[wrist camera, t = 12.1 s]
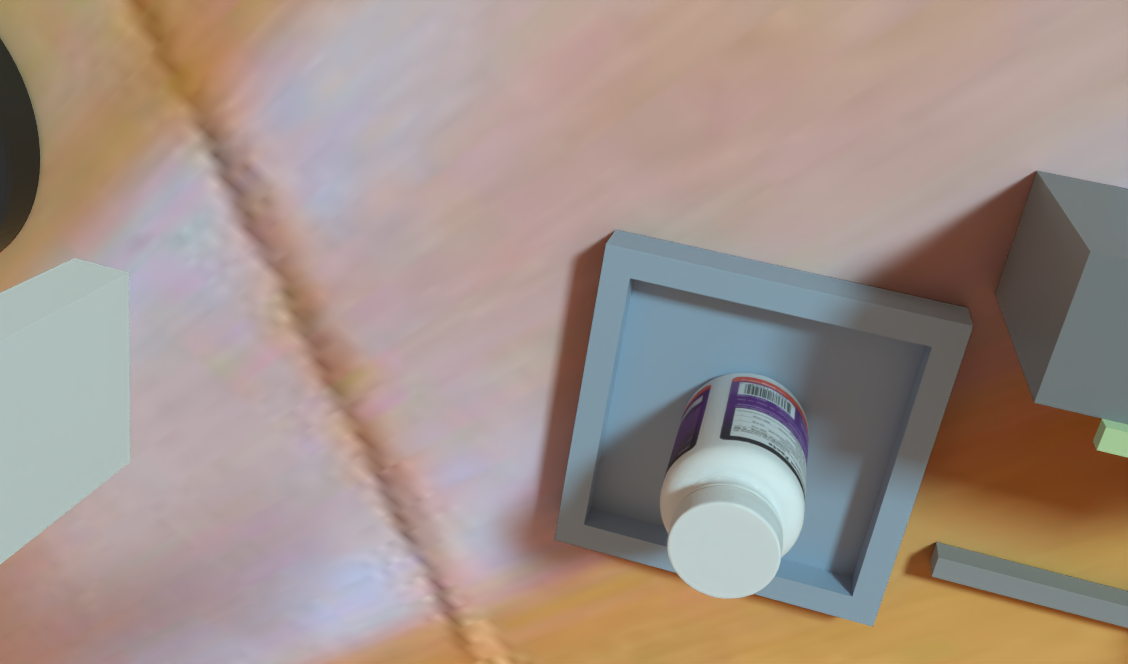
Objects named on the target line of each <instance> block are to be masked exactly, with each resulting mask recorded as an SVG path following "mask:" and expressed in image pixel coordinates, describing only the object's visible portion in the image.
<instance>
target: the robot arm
mask: <svg viewBox="0 0 1128 664" xmlns="http://www.w3.org/2000/svg"><path fill="white" fill-rule="evenodd" d="M39 169H40V148H39V137H38V131H37V125H36V120H35V115H34V111H33V108H32V104H31V101H30V98H29V95H28V92H27V89H26V87H25V84H24V82H23V79H22V77H21V75H20V73H19V70H18V68H17V66H16V64H15V62H14V61H13V59H12V57H11V55H10V53H9V51H8V50H7V48H6V47H5V45H4V43H3V42H2V40H1V39H0V251H1V250H2V249H3V248H5V247H6V246H7V245H8V244H9V243H10V242H11V241H12V240H13V239H14V238H15V236H16V235H17V234H18V232H19V231H20V230H21V228H22V226H23V225H24V223H25V221H26V219H27V217H28V215H29V213H30V210H31V208H32V205H33V202H34V199H35V195H36V191H37V186H38V179H39ZM129 462H130V336H129V272H126V271H122V270H118V269H114V268H110V267H107V266H103V265H99V264H95V263H91V262H87V261H83V260H80V259H76V258H73V259H71V260H69V261H67V262H65V263H63V264H61V265H58V266H56V267H54V268H52V269H50V270H48V271H46V272H44V273H41V274H39V275H37V276H35V277H33V278H31V279H29V280H27V281H24V282H22V283H20V284H18V285H16V286H14V287H12V288H10V289H7V290H5V291H3V292H1V293H0V564H1V563H3V562H4V561H5V560H7V559H8V558H9V557H10V556H12V555H13V554H14V553H15V552H17V551H18V550H19V549H20V548H22V547H23V546H24V545H26V544H27V543H28V542H29V541H31V540H32V539H33V538H34V537H36V536H37V535H38V534H39V533H41V532H42V531H43V530H45V529H46V528H47V527H48V526H50V525H51V524H52V523H53V522H55V521H56V520H57V519H58V518H60V517H61V516H62V515H63V514H65V513H66V512H67V511H69V510H70V509H71V508H72V507H74V506H75V505H76V504H77V503H79V502H80V501H81V500H82V499H84V498H85V497H86V496H88V495H89V494H90V493H91V492H93V491H94V490H95V489H96V488H98V487H99V486H100V485H101V484H103V483H104V482H105V481H107V480H108V479H109V478H110V477H112V476H113V475H114V474H115V473H117V472H118V471H119V470H120V469H122V468H123V467H124V466H126V465H127V464H128V463H129Z"/></svg>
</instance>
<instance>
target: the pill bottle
mask: <svg viewBox="0 0 1128 664" xmlns="http://www.w3.org/2000/svg"><path fill="white" fill-rule="evenodd" d="M808 444H809V431H808V422H807V419H806V415H805V413H804V410H803V408H802V406H801V405H800V403H799V401H798V400H797V399H796V397H795V396H794V395H793V394H792V393H791V392H790V391H789V390H788V389H787V388H785V387H784V386H783V385H781V384H780V383H778V382H776V381H775V380H773V379H771V378H768V377H766V376H762V375H759V374H753V373H732V374H726V375H723V376H720V377H717V378H715V379H713V380H711V381H709V382H708V383H706V384H705V385H703V386H702V387H701V388H700V389H699V390H698V391H697V392H696V393H695V394H694V395H693V396H692V398H691V399H690V400H689V402H688V404H687V406H686V408H685V411H684V414H683V416H682V419H681V422H680V426H679V429H678V433H677V436H676V440H675V443H674V446H673V450H672V453H671V457H670V460H669V464H668V467H667V470H666V474H665V477H664V481H663V484H662V489H661V494H660V511H661V516H662V520H663V523H664V526H665V528H666V531H667V532H668V539H667V551H668V556H669V559H670V562H671V565H672V567H673V568H674V570H675V572H676V573H677V574H678V575H679V577H680V578H681V579H682V580H683V581H684V582H685V583H687V584H688V585H689V586H690V587H692V588H694V589H695V590H697V591H699V592H701V593H703V594H706V595H709V596H712V597H717V598H726V599H729V598H741V597H745V596H749V595H752V594H754V593H756V592H758V591H760V590H761V589H763V588H764V587H765V586H766V585H768V584H769V583H770V582H771V580H772V579H773V578H774V576H775V575H776V573H777V571H778V569H779V565H780V561H781V558H782V557H783V556H784V555H785V554H786V553H787V552H788V551H789V550H790V549H791V548H792V546H793V545H794V544H795V542H796V540H797V539H798V537H799V535H800V532H801V529H802V526H803V521H804V513H805V498H806V476H807V460H808Z"/></svg>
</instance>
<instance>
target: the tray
mask: <svg viewBox="0 0 1128 664" xmlns="http://www.w3.org/2000/svg"><path fill="white" fill-rule="evenodd" d="M972 328H973V323H972V320H971V316H970V313H969V309H968V308H967V307H962V306H958V305H953V304H949V303H944V302H940V301H935V300H931V299H926V298H922V297H917V296H913V295H908V294H904V293H899V292H895V291H890V290H885V289H881V288H876V287H872V286H867V285H863V284H858V283H854V282H849V281H845V280H840V279H836V278H831V277H827V276H822V275H818V274H813V273H809V272H804V271H800V270H795V269H791V268H786V267H782V266H777V265H773V264H768V263H763V262H759V261H754V260H750V259H745V258H741V257H736V256H732V255H727V254H723V253H718V252H714V251H709V250H705V249H700V248H696V247H691V246H687V245H682V244H678V243H673V242H669V241H664V240H660V239H655V238H651V237H646V236H641V235H637V234H632V233H628V232H623V231H619V230H615V232H614V233H613V234H612V236H611V237H610V239H609V240H608V242H607V243H606V246H605V252H604V258H603V264H602V269H601V275H600V281H599V287H598V292H597V298H596V304H595V310H594V315H593V321H592V327H591V333H590V338H589V344H588V350H587V356H586V361H585V367H584V373H583V379H582V384H581V390H580V396H579V402H578V407H577V413H576V419H575V425H574V430H573V436H572V442H571V448H570V453H569V459H568V465H567V471H566V476H565V482H564V488H563V494H562V499H561V505H560V511H559V517H558V522H557V528H556V534H555V540H557V541H561V542H564V543H568V544H572V545H575V546H579V547H583V548H586V549H590V550H594V551H597V552H601V553H605V554H609V555H612V556H616V557H620V558H623V559H627V560H631V561H634V562H638V563H642V564H645V565H649V566H653V567H656V568H660V569H664V570H667V571H671V572H675V570H674V568H673V567H672V565H671V562H670V559H669V556H668V551H667V539H668V532H667V531H666V528H665V526H664V523H663V520H662V516H661V511H660V494H661V489H662V484H663V481H664V477H665V474H666V470H667V467H668V464H669V460H670V457H671V453H672V450H673V446H674V443H675V440H676V436H677V433H678V429H679V426H680V422H681V419H682V416H683V414H684V411H685V408H686V406H687V404H688V402H689V400H690V399H691V398H692V396H693V395H694V394H695V393H696V392H697V391H698V390H699V389H700V388H701V387H702V386H703V385H705V384H706V383H708V382H709V381H711V380H713V379H715V378H717V377H720V376H723V375H726V374H732V373H753V374H759V375H762V376H766V377H768V378H771V379H773V380H775V381H776V382H778V383H780V384H781V385H783V386H784V387H785V388H787V389H788V390H789V391H790V392H791V393H792V394H793V395H794V396H795V397H796V399H797V400H798V401H799V403H800V405H801V406H802V408H803V410H804V413H805V415H806V419H807V422H808V431H809V444H808V460H807V476H806V498H805V513H804V521H803V526H802V529H801V532H800V535H799V537H798V539H797V540H796V542H795V544H794V545H793V546H792V548H791V549H790V550H789V551H788V552H787V553H786V554H785V555H784V556H783V557H782V558H781V561H780V565H779V569H778V571H777V573H776V575H775V576H774V578H773V579H772V580H771V582H770V583H769V584H768V585H766V586H765V587H764V588H763V589H761V590H760V591H758V592H756V593H754V594H756V595H759V596H763V597H767V598H770V599H774V600H778V601H781V602H785V603H789V604H792V605H796V606H800V607H803V608H807V609H811V610H814V611H818V612H822V613H825V614H829V615H833V616H836V617H840V618H844V619H847V620H851V621H855V622H858V623H862V624H866V625H869V626H873V625H874V622H875V619H876V616H877V613H878V610H879V607H880V604H881V601H882V598H883V595H884V592H885V589H886V586H887V583H888V580H889V577H890V574H891V571H892V568H893V565H894V562H895V559H896V556H897V553H898V550H899V547H900V544H901V541H902V538H903V535H904V532H905V529H906V526H907V523H908V520H909V517H910V514H911V511H912V508H913V505H914V502H915V499H916V496H917V493H918V490H919V487H920V484H921V481H922V478H923V475H924V472H925V469H926V466H927V463H928V460H929V457H930V454H931V451H932V448H933V445H934V442H935V439H936V436H937V433H938V430H939V427H940V424H941V421H942V418H943V415H944V412H945V409H946V406H947V403H948V400H949V397H950V394H951V391H952V388H953V385H954V382H955V379H956V376H957V373H958V370H959V367H960V364H961V361H962V358H963V355H964V352H965V349H966V346H967V343H968V340H969V337H970V334H971V331H972ZM675 573H676V572H675Z"/></svg>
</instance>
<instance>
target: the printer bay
mask: <svg viewBox="0 0 1128 664" xmlns="http://www.w3.org/2000/svg"><path fill="white" fill-rule="evenodd" d="M995 295H996V298H997V300H998V303H999V306H1000V309H1001V312H1002V314H1003V317H1004V320H1005V323H1006V326H1007V328H1008V331H1009V334H1010V337H1011V339H1012V342H1013V345H1014V348H1015V351H1016V353H1017V356H1018V359H1019V362H1020V365H1021V367H1022V370H1023V373H1024V376H1025V378H1026V381H1027V384H1028V387H1029V390H1030V392H1031V395H1032V398H1033V401H1034V403H1037V404H1042V405H1046V406H1050V407H1054V408H1059V409H1063V410H1067V411H1072V412H1076V413H1080V414H1084V415H1089V416H1093V417H1097V418H1102V419H1101V422H1100V424H1099V427H1098V429H1097V432H1096V434H1095V437H1094V439H1093V443H1094V445H1095V447H1096V450H1098V451H1102V452H1106V453H1111V454H1115V455H1119V456H1123V457H1127V458H1128V189H1126V188H1121V187H1116V186H1111V185H1106V184H1101V183H1096V182H1091V181H1086V180H1081V179H1076V178H1071V177H1065V176H1060V175H1055V174H1050V173H1045V172H1040V171H1036V174H1035V177H1034V180H1033V183H1032V186H1031V189H1030V192H1029V195H1028V198H1027V201H1026V204H1025V207H1024V210H1023V213H1022V216H1021V219H1020V222H1019V225H1018V228H1017V231H1016V234H1015V236H1014V239H1013V242H1012V245H1011V248H1010V251H1009V254H1008V257H1007V260H1006V263H1005V266H1004V269H1003V272H1002V275H1001V278H1000V281H999V284H998V287H997V290H996V293H995ZM930 566H931V574H932V577H935V578H939V579H943V580H947V581H951V582H954V583H958V584H962V585H966V586H970V587H973V588H977V589H981V590H985V591H989V592H993V593H996V594H1000V595H1004V596H1008V597H1012V598H1015V599H1019V600H1023V601H1027V602H1031V603H1034V604H1038V605H1042V606H1046V607H1050V608H1054V609H1057V610H1061V611H1065V612H1069V613H1073V614H1076V615H1080V616H1084V617H1088V618H1092V619H1095V620H1099V621H1103V622H1107V623H1111V624H1115V625H1118V626H1122V627H1126V628H1128V591H1125V590H1121V589H1117V588H1113V587H1109V586H1106V585H1102V584H1098V583H1094V582H1090V581H1086V580H1082V579H1078V578H1074V577H1070V576H1067V575H1063V574H1059V573H1055V572H1051V571H1047V570H1043V569H1039V568H1035V567H1032V566H1028V565H1024V564H1020V563H1016V562H1012V561H1008V560H1004V559H1000V558H997V557H993V556H989V555H985V554H981V553H977V552H973V551H969V550H965V549H962V548H958V547H954V546H950V545H946V544H942V543H938V542H936V545H935V548H934V551H933V553H932V556H931V559H930Z"/></svg>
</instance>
